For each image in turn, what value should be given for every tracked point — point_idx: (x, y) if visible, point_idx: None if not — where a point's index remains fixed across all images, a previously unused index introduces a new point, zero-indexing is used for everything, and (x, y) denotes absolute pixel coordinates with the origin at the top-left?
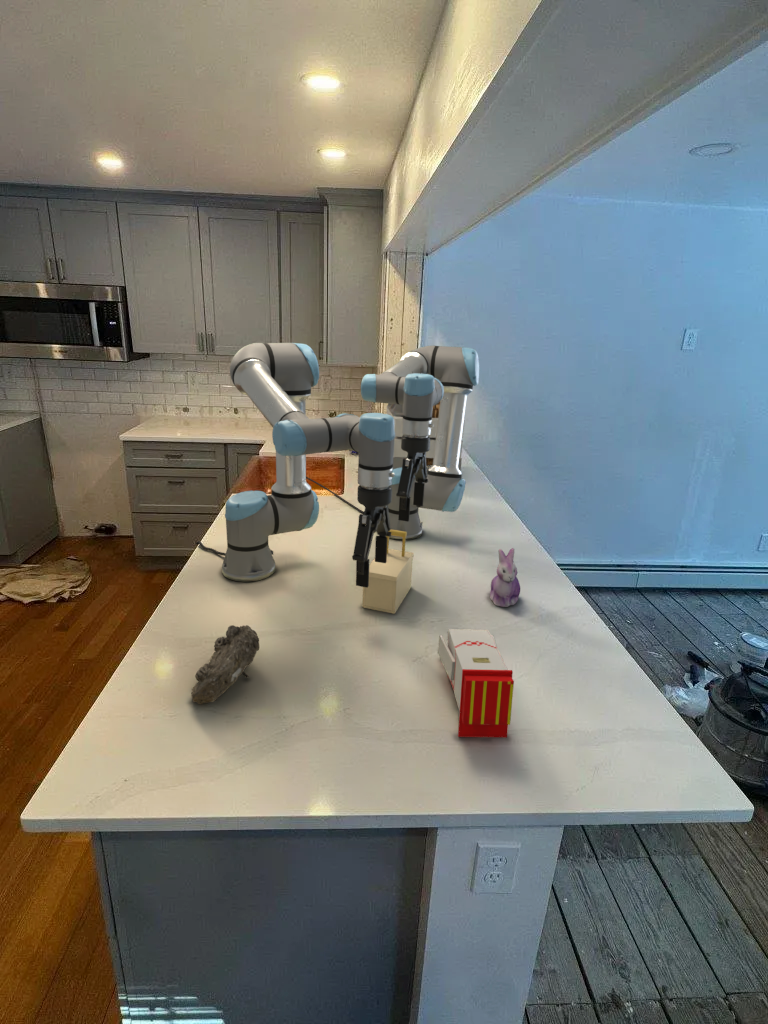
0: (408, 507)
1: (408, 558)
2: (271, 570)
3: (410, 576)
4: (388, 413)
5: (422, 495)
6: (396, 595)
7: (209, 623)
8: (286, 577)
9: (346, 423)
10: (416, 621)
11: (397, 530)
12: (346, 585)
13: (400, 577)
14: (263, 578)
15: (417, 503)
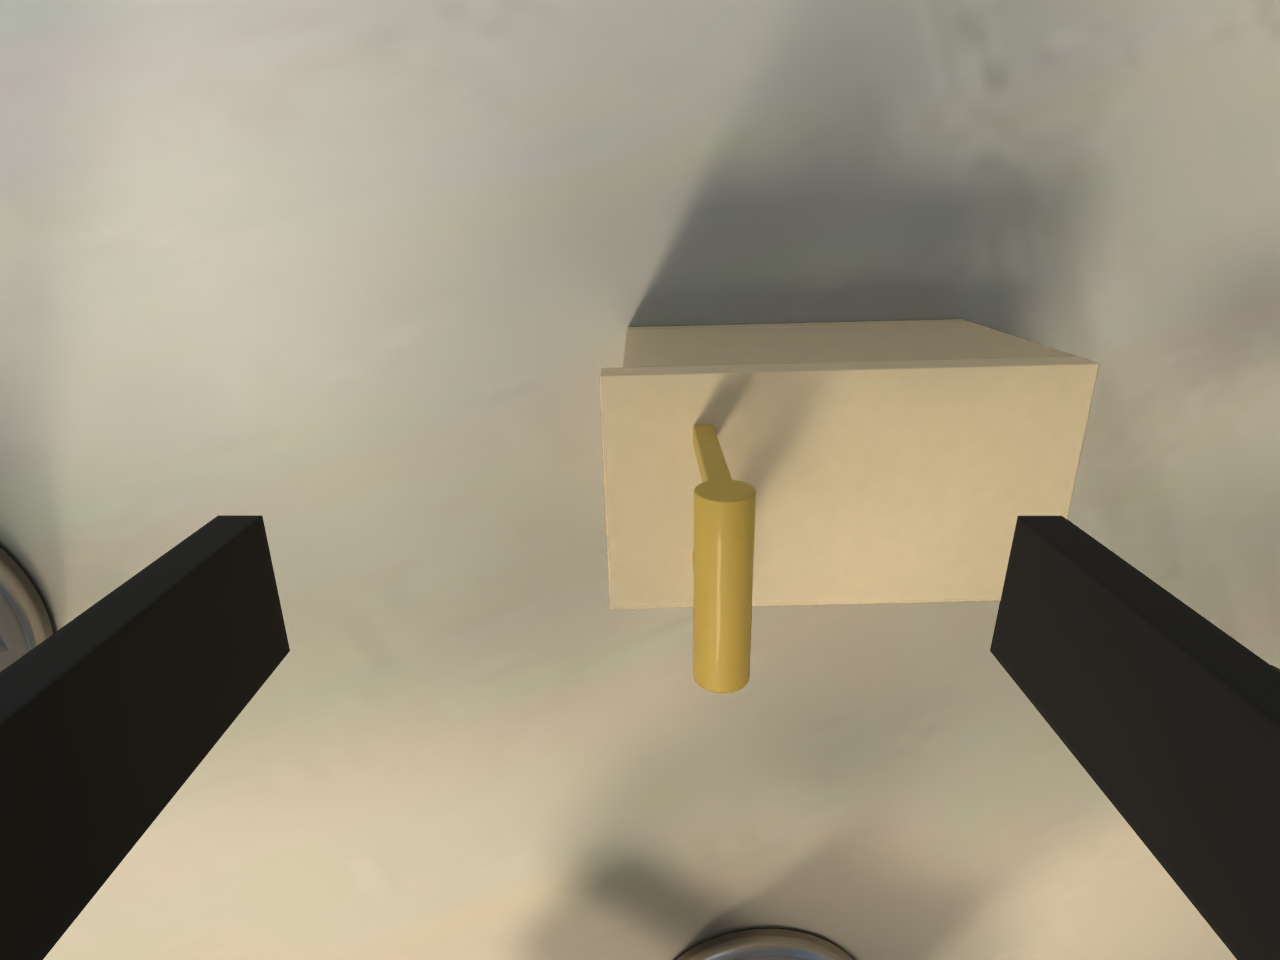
0: (1233, 658)
1: (729, 381)
2: (772, 948)
3: (655, 341)
4: None
5: (142, 625)
6: (998, 336)
7: (1199, 929)
8: (761, 875)
9: None
10: (1013, 174)
11: (721, 591)
12: None
13: (964, 355)
14: (817, 938)
15: (261, 608)
